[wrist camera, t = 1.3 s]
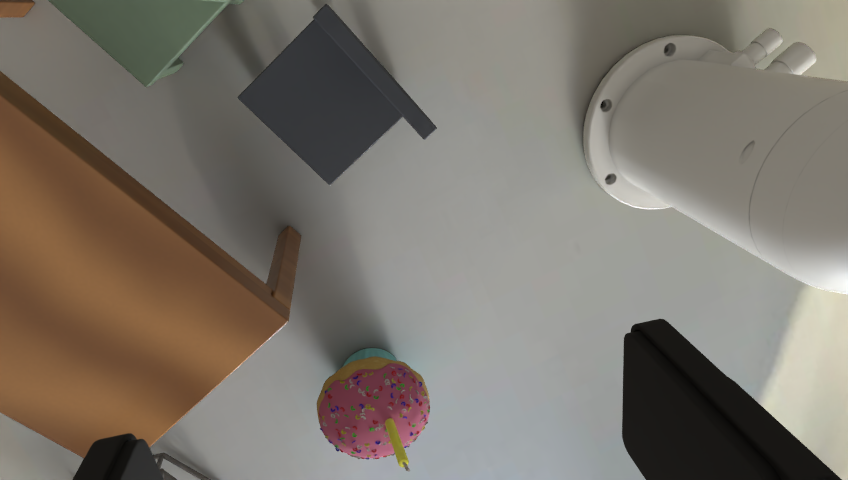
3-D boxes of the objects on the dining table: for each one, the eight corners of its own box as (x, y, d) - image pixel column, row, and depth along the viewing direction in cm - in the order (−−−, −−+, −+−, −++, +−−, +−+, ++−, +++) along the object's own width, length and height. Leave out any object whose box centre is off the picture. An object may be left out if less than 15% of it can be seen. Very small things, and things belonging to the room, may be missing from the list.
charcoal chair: (329, 5, 34) (326, 3, 22) (404, 90, 36) (437, 128, 25) (252, 84, 35) (210, 121, 23) (330, 161, 37) (328, 229, 26)
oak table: (16, -15, 31) (-156, -28, 20) (301, 235, 39) (289, 321, 29) (-125, 152, 33) (-350, 221, 22) (174, 354, 42) (117, 477, 31)
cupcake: (378, 309, 43) (392, 412, 32) (441, 373, 46) (474, 486, 35) (296, 372, 44) (284, 492, 33) (364, 430, 47) (373, 556, 36)
